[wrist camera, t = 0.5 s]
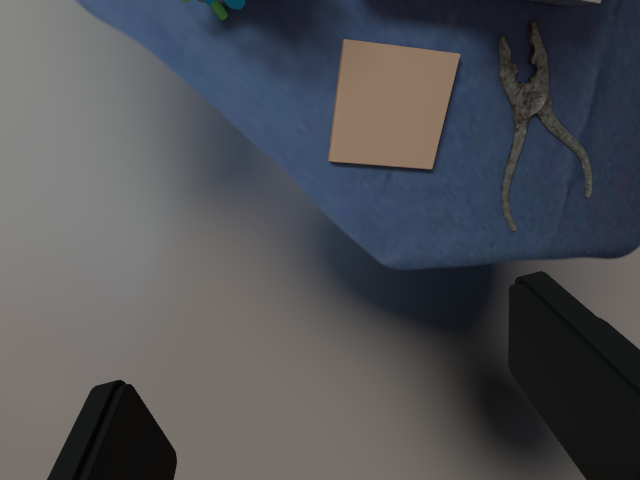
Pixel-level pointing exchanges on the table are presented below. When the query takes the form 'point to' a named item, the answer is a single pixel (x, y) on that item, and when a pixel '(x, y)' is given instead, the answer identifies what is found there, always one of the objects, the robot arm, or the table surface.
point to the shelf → (567, 2)
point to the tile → (390, 104)
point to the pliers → (532, 111)
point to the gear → (232, 1)
